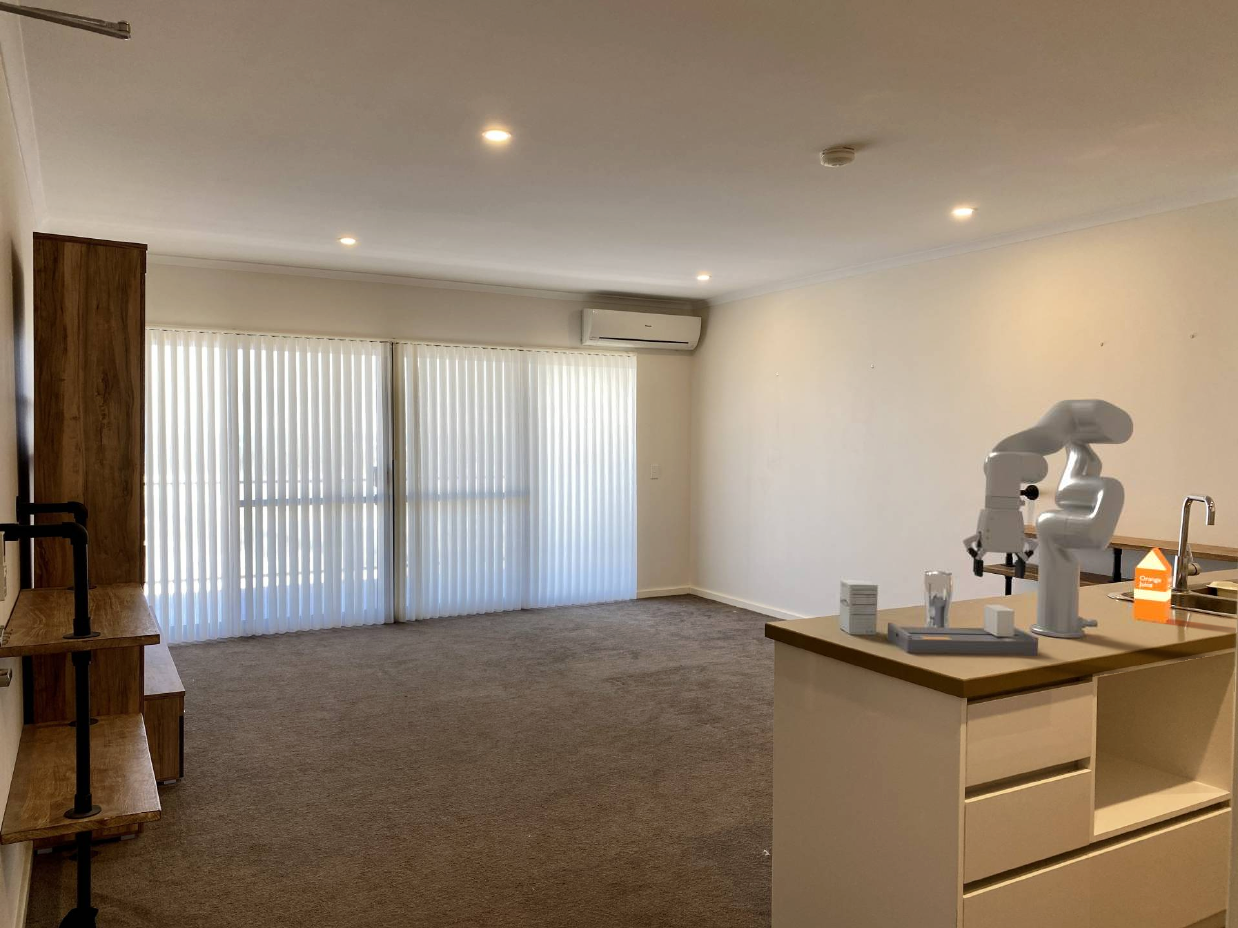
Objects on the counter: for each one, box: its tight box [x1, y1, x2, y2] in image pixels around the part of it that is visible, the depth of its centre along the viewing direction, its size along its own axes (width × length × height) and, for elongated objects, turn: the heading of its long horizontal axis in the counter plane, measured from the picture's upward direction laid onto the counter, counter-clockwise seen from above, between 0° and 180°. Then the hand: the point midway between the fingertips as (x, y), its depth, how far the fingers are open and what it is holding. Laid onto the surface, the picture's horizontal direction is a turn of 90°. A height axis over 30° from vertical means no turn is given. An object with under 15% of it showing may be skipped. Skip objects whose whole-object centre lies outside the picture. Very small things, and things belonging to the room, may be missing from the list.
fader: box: [983, 604, 1015, 636], centre depth 207 cm, size 4×7×7 cm, turn 1°
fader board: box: [886, 622, 1039, 656], centre depth 207 cm, size 30×14×4 cm, turn 91°
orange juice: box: [1132, 546, 1173, 624], centre depth 246 cm, size 8×9×20 cm
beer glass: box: [923, 570, 954, 628], centre depth 224 cm, size 7×7×15 cm
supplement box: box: [838, 579, 879, 636], centre depth 221 cm, size 7×7×13 cm
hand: (998, 576), depth 206 cm, fingers open, 9 cm apart
